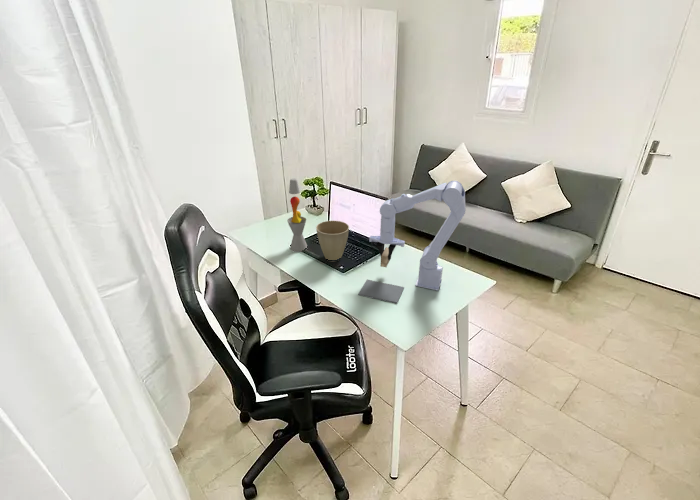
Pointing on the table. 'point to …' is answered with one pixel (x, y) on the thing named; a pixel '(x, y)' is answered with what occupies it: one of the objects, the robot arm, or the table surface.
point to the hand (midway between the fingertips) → (385, 258)
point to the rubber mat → (381, 291)
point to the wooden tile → (385, 258)
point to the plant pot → (332, 238)
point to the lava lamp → (296, 220)
